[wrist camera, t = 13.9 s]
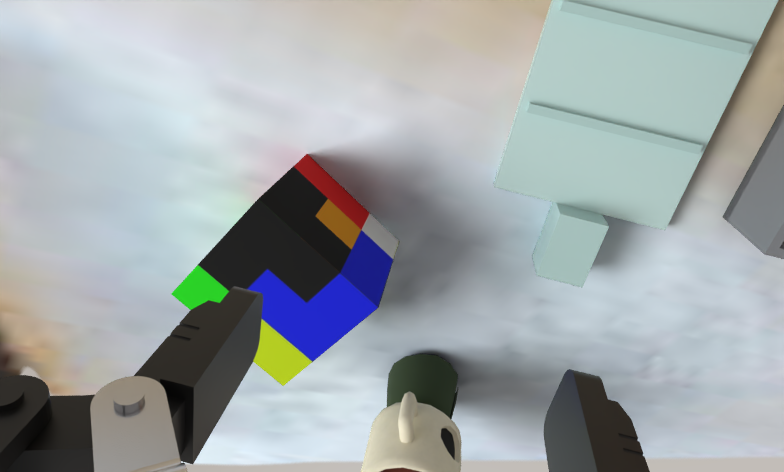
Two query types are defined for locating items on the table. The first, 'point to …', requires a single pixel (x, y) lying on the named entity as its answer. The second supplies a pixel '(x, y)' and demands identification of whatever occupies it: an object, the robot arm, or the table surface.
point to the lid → (621, 114)
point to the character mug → (416, 420)
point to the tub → (763, 196)
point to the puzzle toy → (299, 267)
